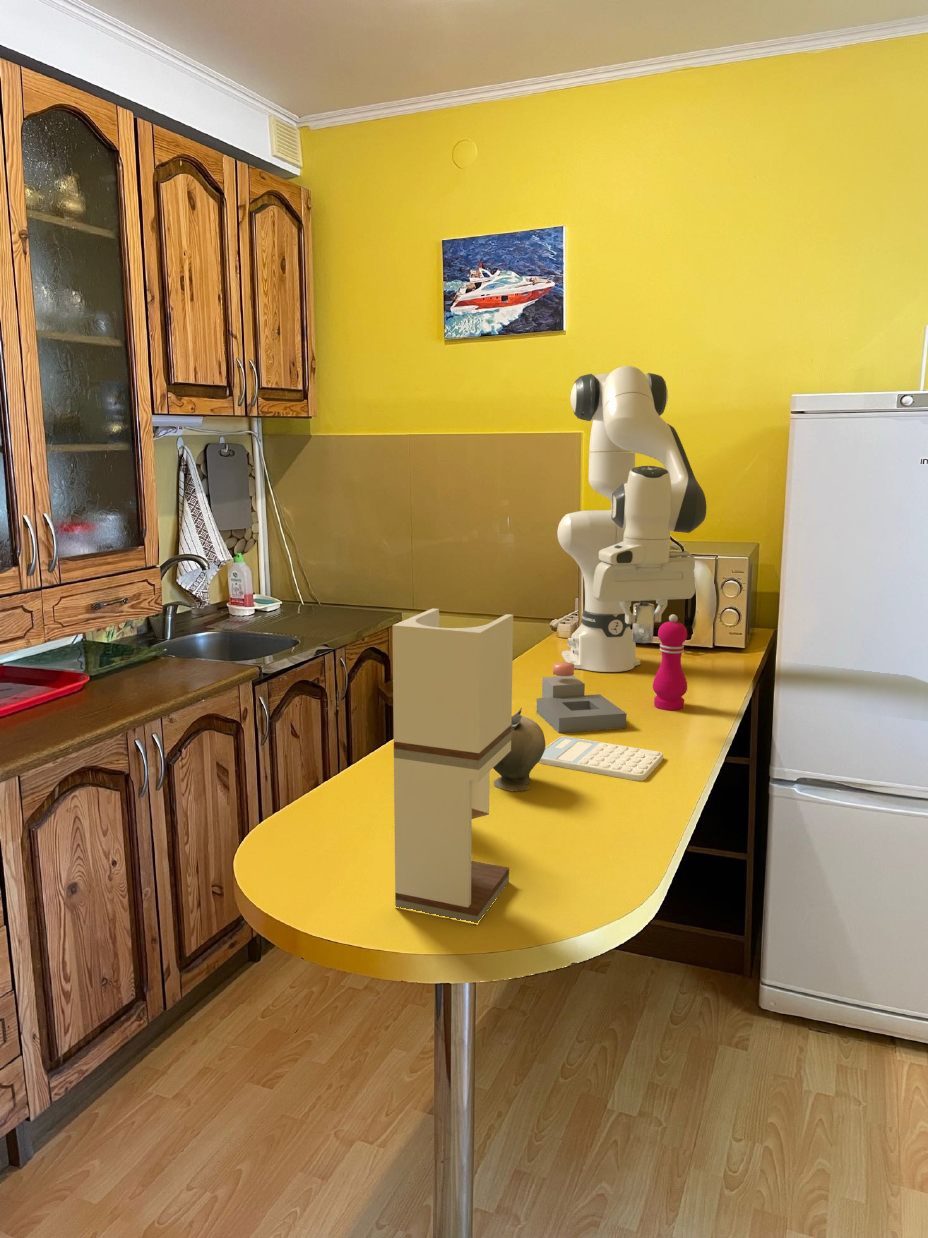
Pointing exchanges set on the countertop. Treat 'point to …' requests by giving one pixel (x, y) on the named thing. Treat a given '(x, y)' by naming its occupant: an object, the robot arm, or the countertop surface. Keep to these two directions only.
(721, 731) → the countertop surface
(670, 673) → the pepper mill
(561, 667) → the plunger
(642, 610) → the cell
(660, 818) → the countertop surface
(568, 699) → the grey stepped block frame
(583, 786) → the countertop surface
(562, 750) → the calculator
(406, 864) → the beige stacked box tower
